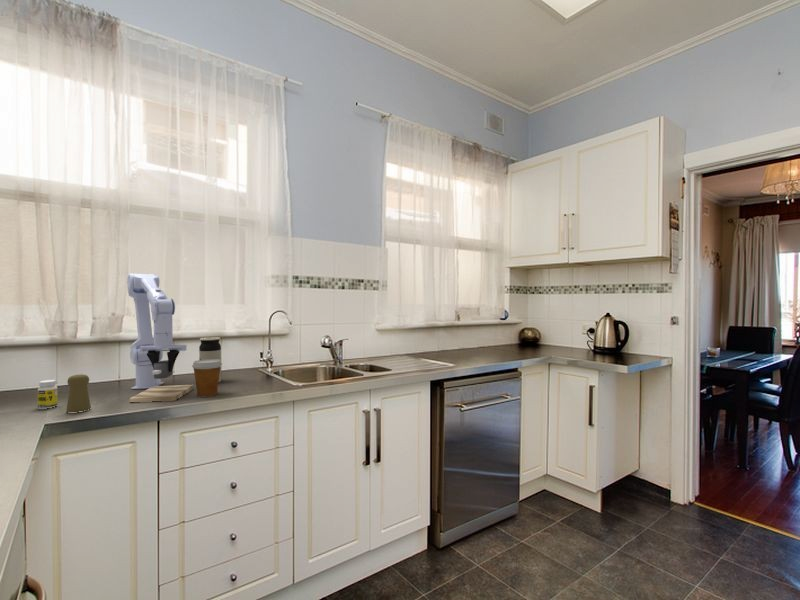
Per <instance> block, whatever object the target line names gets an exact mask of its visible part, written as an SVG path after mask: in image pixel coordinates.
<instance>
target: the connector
mask: <svg viewBox="0 0 800 600" xmlns="http://www.w3.org/2000/svg"><path fill="white" fill-rule="evenodd" d="M152 374H154V379H161V380H163V379H167V378H168V377H171V376H173V374H174V370H173V371H171V372H169V371H168V359H165V360H161V361H159V362H157V363H154V371H152Z"/></svg>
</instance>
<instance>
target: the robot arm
mask: <svg viewBox="0 0 800 600" xmlns="http://www.w3.org/2000/svg"><path fill="white" fill-rule="evenodd" d="M126 280H127V281H126V284H127V286H126V287H127V293H128V296H129V297H131V298H133V301H134V307H135V317H136V318H135V319H136V327H137V340H135V341H134V342H132V344H131V345H130V352H129V353H130V354H129V356H130V357H129V359H130V362H131V363H132V364H133V365H135V385H134V386H132V387H130V389H131V390H135V389H136V390H138V389H139V390H141V389H149V388H151V387H153V386H162V385H163V384H164V381H162V379H154V374H152V371H154V363H157V362H159V361H162V359H163V358H164V357H163V356H164V352H166V356H167V360H168V371H169V372H171V371H173V372H174V368H175V367H174V366H175V363H176V360H177V357H178V356H179V355H180V351H181V352H185V351H187V344H173V331H174V330H173V315H174V314H175V311H176V304H175V300H174V299H173V298H168V296H167V294H166V293H165V292H164V290H162V289H161V288H159V287H160V277H159V275H158V274H157V273H154V274H149V273H148V274H147V273H146V274H145V273H132V272H131V273H129V274H128V275H127V279H126ZM152 321H153V328H152ZM152 329H153V330H152Z"/></svg>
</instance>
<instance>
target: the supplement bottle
mask: <svg viewBox="0 0 800 600" xmlns="http://www.w3.org/2000/svg"><path fill="white" fill-rule="evenodd" d="M58 390H59V389H58V386H57V381H56V379H45V380H41V381H39V382H38V388H37V409H38V410H48V409H47V408H50V409H53V408H52V407H54V408H56V407H55V406H57V407H58V406H59V405H58V402H59V401H58V393H59V392H58Z"/></svg>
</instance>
